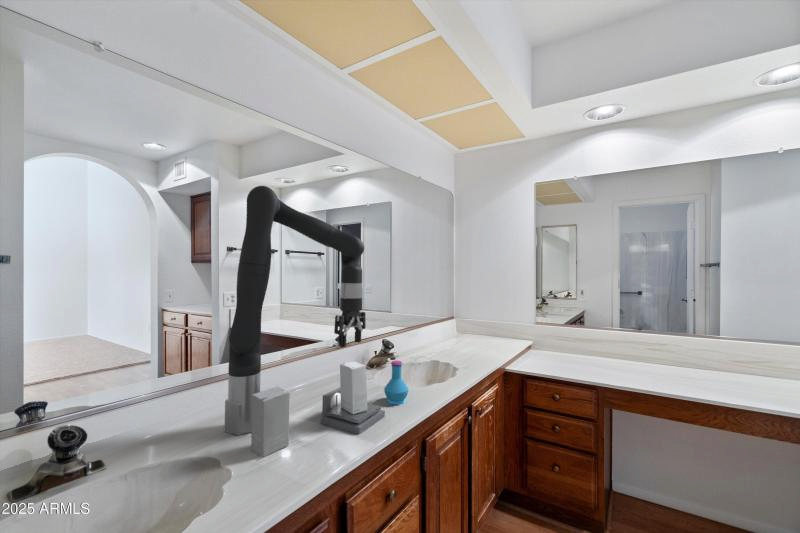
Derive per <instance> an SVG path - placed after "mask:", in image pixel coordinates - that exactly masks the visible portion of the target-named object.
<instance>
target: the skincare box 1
mask: <svg viewBox="0 0 800 533" xmlns="http://www.w3.org/2000/svg"><path fill="white" fill-rule="evenodd" d="M290 394H291V393H290V391H288V390H286V389H283V388H282V387H280V386H274V387H271V388H268V389H265V390H263V391H260V392H259V393H255V394H252V431H251V432H250V433H251V436H250V437H251V439H250V441H251V443H250V444H251V446H250V447H251V450H252V451H253V452H255V453H256V454H257V455H259V456H260V457H262V458H265V457H266V456H269V455H270V454H273V453H275V452H277V451H279V450H282V449H284V448H286V447H288V446H290V445H289V438H290V434H289V432H290Z"/></svg>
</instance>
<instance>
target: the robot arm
mask: <svg viewBox="0 0 800 533" xmlns="http://www.w3.org/2000/svg"><path fill="white" fill-rule="evenodd" d="M245 218H246V222H245V223H246V224H245V231H244V236H243V240H242V245H241V249H240V250H241V251H240V255H239V260H238V266H237V268H238V269H237V274H236V277H237V278H236V302H235V303H236V306H235V312H234V318H233V322H232V324H231V329H230V332H229V335H228V343H229V344H228V346H229V351H228V352H229V354H228V355H229V356H228V379H227V380H228V387H227V399H225V401H224V432H226V433H229V434H233V435H235V436H240V435H245V434H250V433H251V431H252V394H255V393H259V392H261V376H262V375H261V372H262V370H261V368H262V362H261V361H262V358H261V356H262V353H261V352H262V311H263V306H264V301H265V298H266V294H267V289H268V284H269V279H270V274H271V273H270V272H271V267H272V266H271V264H272V228H273V224H274V223H278V224H280V225H283V226H284V227H287V228H289V229H291V230H293V231H296V233H297V232H298V233H299V234H301V235H303V236H305V237H306V238H309V239H311V241H315V242H317V243H318V244H320V245H322V246H325V247H327V248H332V249H334V250H335V251H338V252H339V253H340V257H341V260H340V261H341V280H340V281H341V282H340V290H339V295H340V296H339V309H340V311H341V315H338V314H337V315H334V316H335V318H334V319H335V320H334V332H333V333H334V335H338V346H339V347H340V348H345V347H347V333H348V331H349V330H350V329H351V328H352V327H353V329H354V343H358V344H359V343H361V342H362V332H363V330H365V329H366V328H367V326H366V324H367V323H366V312H365V311H363V299H364V298H363V295H364V291H363V290H364V288H363V268H362V264H361V263H362V262H361V260H362V259H361V257H362V255H363V253H364V251H365V244H364V242H363V240H362V239H360V238H359V237H357V236H355V235H354V234H351V233H349V232H346V231H344V230H340V229H338V228H337V227H335V226H333V225H331V224H329V223H328V222H325V221H323V220H321V219H320V218H317V217H314V216H312V215H310V214H306V213H304V212H300V211H298V210H297V209H294V208H292V207H291V206H289V205H287V204H286V203H285V202H283V201H281V200H280V198H278V195H277V194H276V192H275V191H274V190H273V189H272V188H270V187H269V186H267V185H258V186H255V187H253V188H252V189H251V190H250V191H249V192H248V194H247V197H246V217H245Z"/></svg>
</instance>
